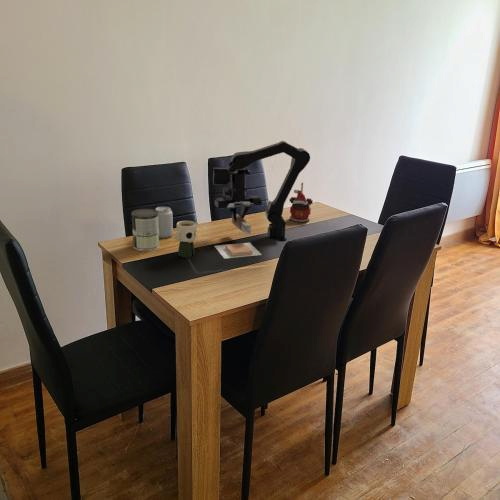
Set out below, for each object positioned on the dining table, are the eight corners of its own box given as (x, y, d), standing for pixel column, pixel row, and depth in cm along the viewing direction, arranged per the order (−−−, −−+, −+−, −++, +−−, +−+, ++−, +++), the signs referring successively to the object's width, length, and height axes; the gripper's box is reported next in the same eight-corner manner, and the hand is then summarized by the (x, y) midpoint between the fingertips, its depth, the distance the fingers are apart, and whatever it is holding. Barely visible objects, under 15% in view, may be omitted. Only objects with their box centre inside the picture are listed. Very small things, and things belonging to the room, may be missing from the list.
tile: (244, 243, 201) (252, 250, 193) (244, 246, 201) (252, 254, 193) (225, 244, 198) (232, 252, 190) (225, 248, 199) (232, 256, 191)
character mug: (184, 262, 186) (183, 228, 181) (169, 257, 190) (168, 224, 185) (203, 254, 194) (203, 221, 190) (189, 250, 198) (188, 218, 193)
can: (169, 239, 209) (168, 211, 204) (152, 237, 210) (151, 210, 206) (175, 233, 215) (174, 206, 211) (158, 232, 217) (157, 205, 212)
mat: (249, 244, 206) (249, 242, 206) (261, 256, 194) (261, 254, 194) (214, 247, 201) (214, 245, 201) (224, 260, 189) (224, 258, 189)
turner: (237, 222, 214) (237, 214, 213) (251, 233, 200) (251, 225, 199) (231, 222, 213) (232, 214, 212) (245, 234, 199) (245, 225, 198)
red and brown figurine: (312, 218, 243) (315, 181, 237) (309, 223, 235) (312, 186, 228) (290, 216, 246) (292, 179, 239) (287, 221, 237) (289, 184, 231)
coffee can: (127, 247, 199) (125, 212, 194) (146, 240, 207) (145, 207, 202) (145, 253, 193) (144, 218, 188) (165, 246, 201) (164, 212, 196)
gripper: (252, 179, 214) (252, 214, 220) (210, 181, 208) (210, 218, 213) (262, 185, 205) (261, 221, 210) (218, 188, 198) (218, 226, 204)
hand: (238, 221), depth 210 cm, fingers closed on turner, 2 cm apart
